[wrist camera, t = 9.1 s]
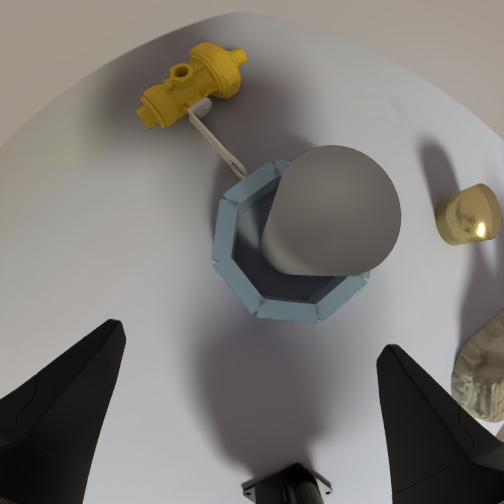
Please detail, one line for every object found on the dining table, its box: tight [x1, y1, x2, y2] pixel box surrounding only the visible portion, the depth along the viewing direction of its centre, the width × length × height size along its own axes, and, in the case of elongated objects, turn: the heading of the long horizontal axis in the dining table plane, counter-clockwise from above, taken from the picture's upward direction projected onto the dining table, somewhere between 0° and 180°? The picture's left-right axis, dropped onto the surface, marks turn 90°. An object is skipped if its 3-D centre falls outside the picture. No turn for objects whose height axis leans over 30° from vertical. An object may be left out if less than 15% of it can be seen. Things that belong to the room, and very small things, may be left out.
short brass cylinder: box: [435, 184, 501, 245], centre depth 18 cm, size 5×5×5 cm
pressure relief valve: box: [136, 42, 249, 180], centre depth 19 cm, size 6×12×10 cm
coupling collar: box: [212, 159, 370, 323], centre depth 19 cm, size 10×10×3 cm
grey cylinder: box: [261, 145, 401, 276], centre depth 14 cm, size 4×4×12 cm
